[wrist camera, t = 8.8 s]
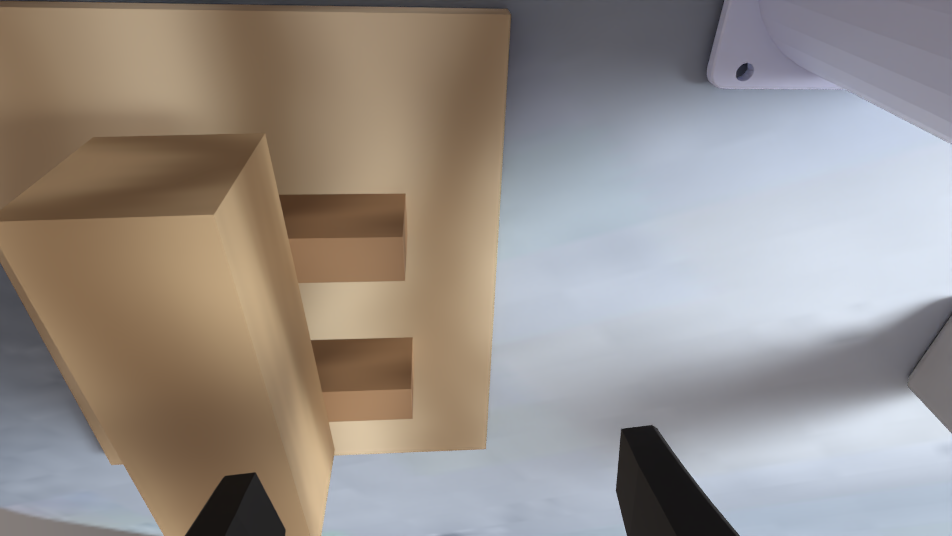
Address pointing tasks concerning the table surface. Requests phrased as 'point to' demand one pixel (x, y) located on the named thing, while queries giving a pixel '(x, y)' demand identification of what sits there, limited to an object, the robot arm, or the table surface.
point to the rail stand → (309, 174)
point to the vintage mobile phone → (936, 377)
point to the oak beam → (180, 317)
